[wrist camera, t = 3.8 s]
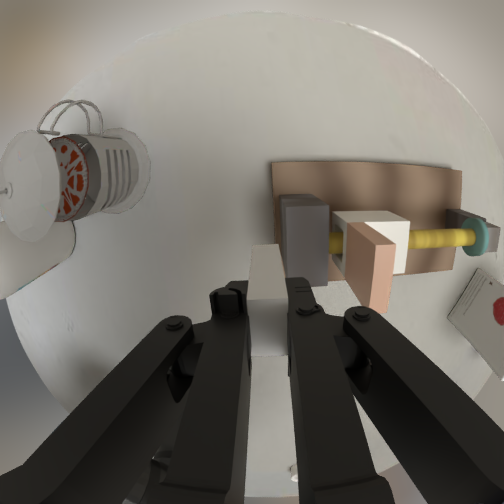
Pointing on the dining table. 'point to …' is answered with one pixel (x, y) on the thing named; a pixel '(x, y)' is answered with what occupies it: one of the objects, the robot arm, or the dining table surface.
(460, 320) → the supplement box
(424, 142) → the dining table surface
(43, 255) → the milk bottle
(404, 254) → the cube with tan panel
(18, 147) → the french press
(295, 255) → the axle on two posts
